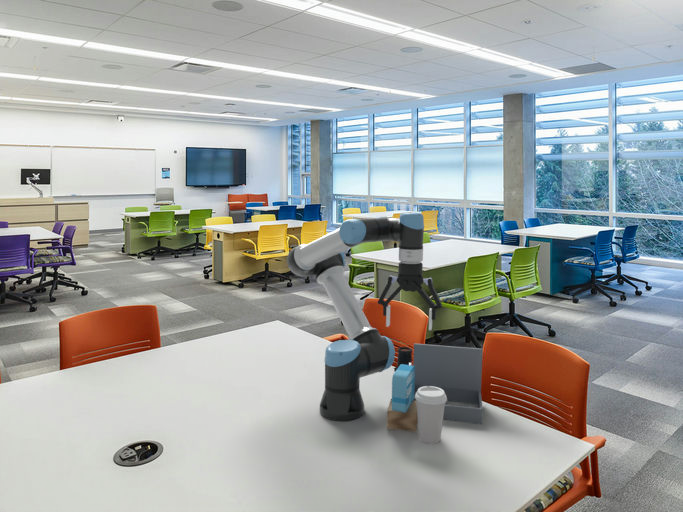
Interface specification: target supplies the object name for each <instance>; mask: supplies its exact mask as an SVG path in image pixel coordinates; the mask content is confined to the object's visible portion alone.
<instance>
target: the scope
mask: <svg viewBox="0 0 683 512" xmlns="http://www.w3.org/2000/svg"><path fill="white" fill-rule="evenodd" d="M412 353H413V349H412V348H411V347H407V346H400V347H398V348H397V366H395V367H394V368H393V371H394V372H395V371H396V370H397V369H398V367H399V366H400V365H401V364H404V365H409V363H412V362H413V359H412V358H413V357H412V355H413V354H412ZM412 364H413V363H412Z"/></svg>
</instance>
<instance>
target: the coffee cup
mask: <svg viewBox="0 0 683 512" xmlns="http://www.w3.org/2000/svg"><path fill="white" fill-rule="evenodd" d="M414 400H415V401H416V402H417V418H418V422H417V434H418V435H417V436H418V439H419V440H420V442H422V443H425V444H427V445H428V444H429V445H433V444H437V443H439V442H441V438H442V430H443V429H442V428H443V422H444V420H443V415H444V407H445V405H446V402H448V401H447V397H446V394H445V392H444V390H442V389H441V388H438V387H434V386H424V387H420V388H419V389H418V391H417V392H416V394H415V399H414Z"/></svg>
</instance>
